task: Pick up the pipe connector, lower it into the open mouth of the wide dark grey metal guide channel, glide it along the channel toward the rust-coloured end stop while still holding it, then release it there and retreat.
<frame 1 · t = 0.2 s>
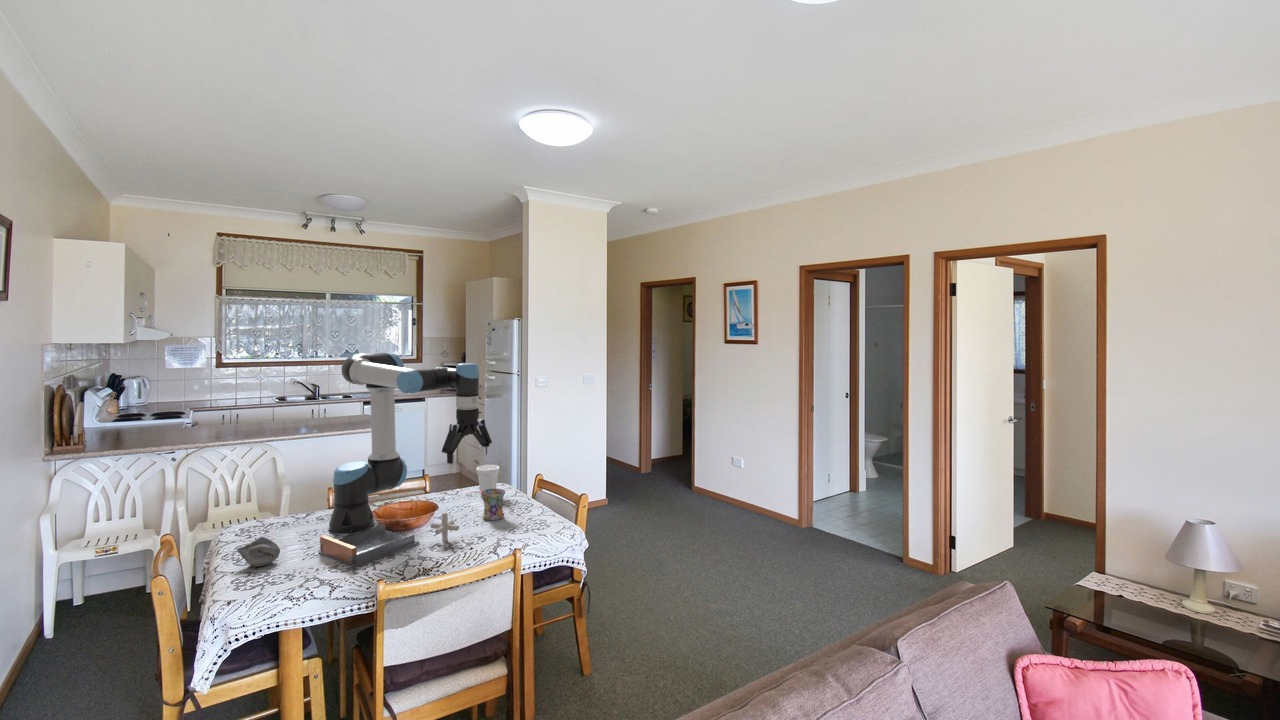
hand: (467, 468, 204), 27 cm above the table, fingers open, 13 cm apart
cup: (488, 497, 260), on the table
pipe connector: (444, 541, 208), on the table
fossil: (259, 564, 186), on the table
guide channel: (370, 548, 200), on the table
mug: (491, 517, 234), on the table
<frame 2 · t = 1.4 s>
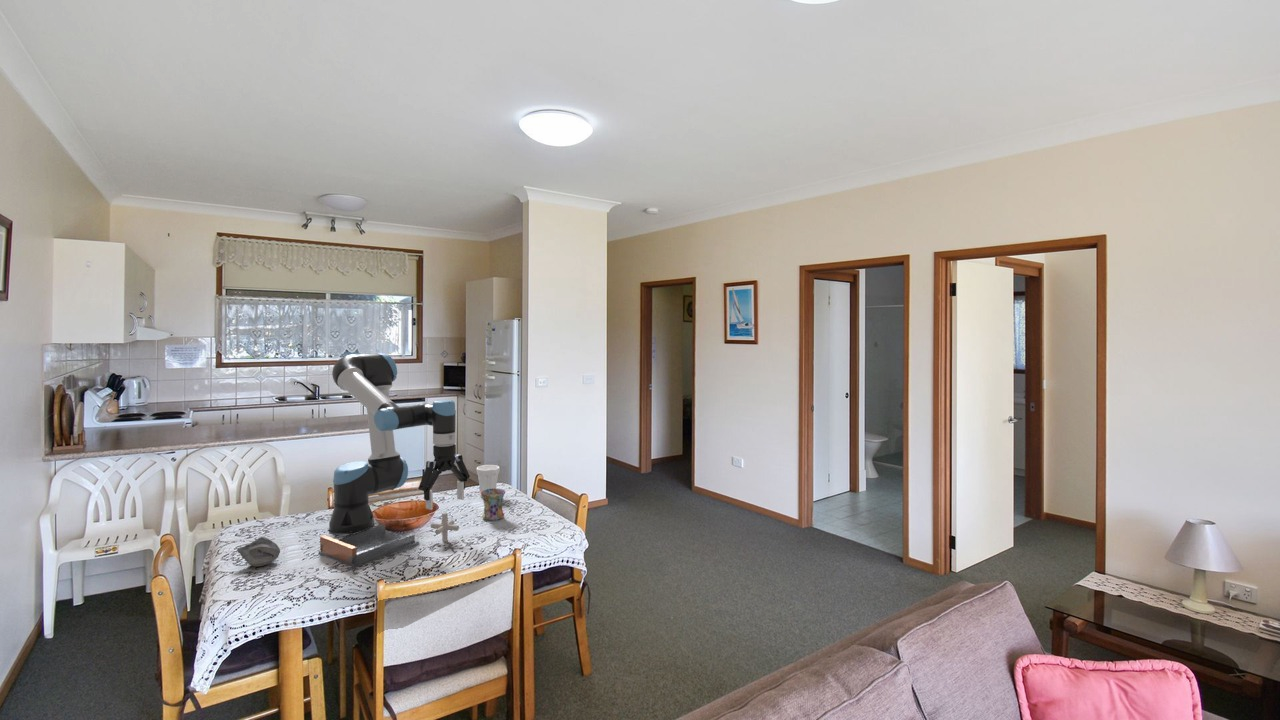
hand: (445, 504, 207), 13 cm above the table, fingers open, 13 cm apart
nothing on the table moved.
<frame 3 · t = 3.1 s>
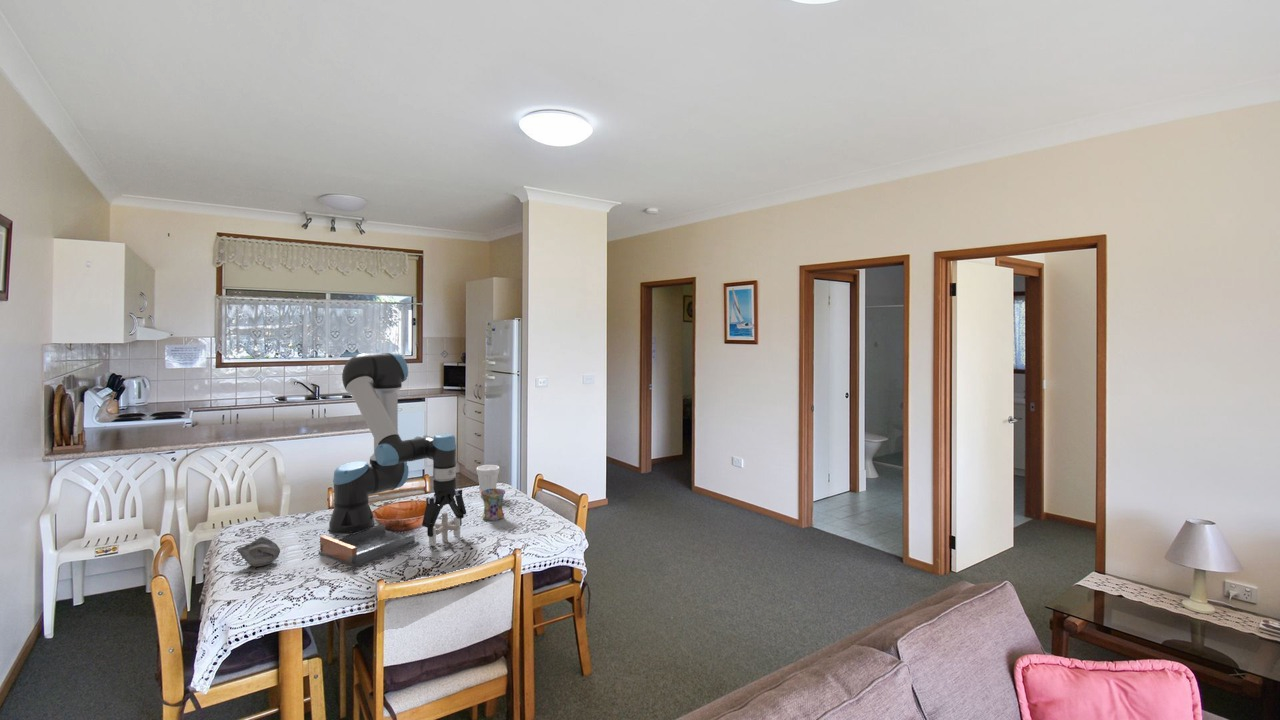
hand: (444, 540, 208), 0 cm above the table, fingers closed on pipe connector, 10 cm apart
pipe connector: (444, 541, 208), on the table, touching gripper
everything else where it was.
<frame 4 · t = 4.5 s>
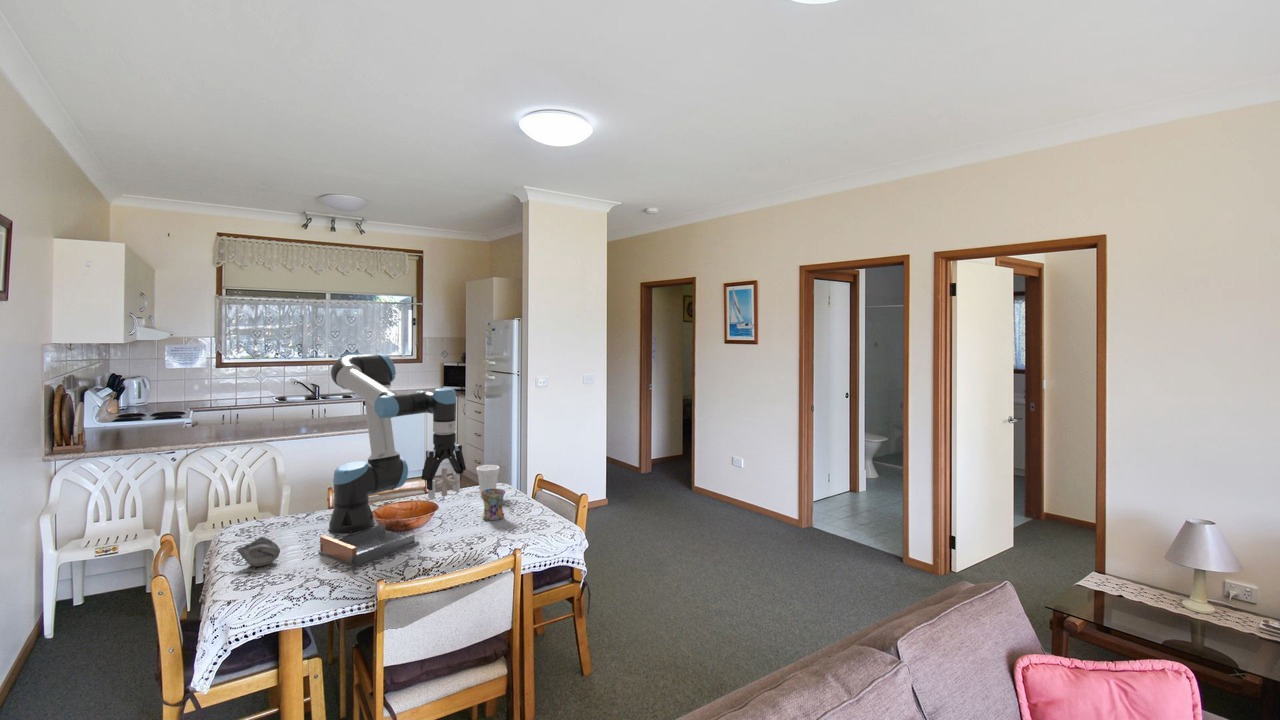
hand: (444, 494, 207), 17 cm above the table, fingers closed on pipe connector, 10 cm apart
pipe connector: (444, 496, 207), point 16 cm above the table, touching gripper
everything else where it was.
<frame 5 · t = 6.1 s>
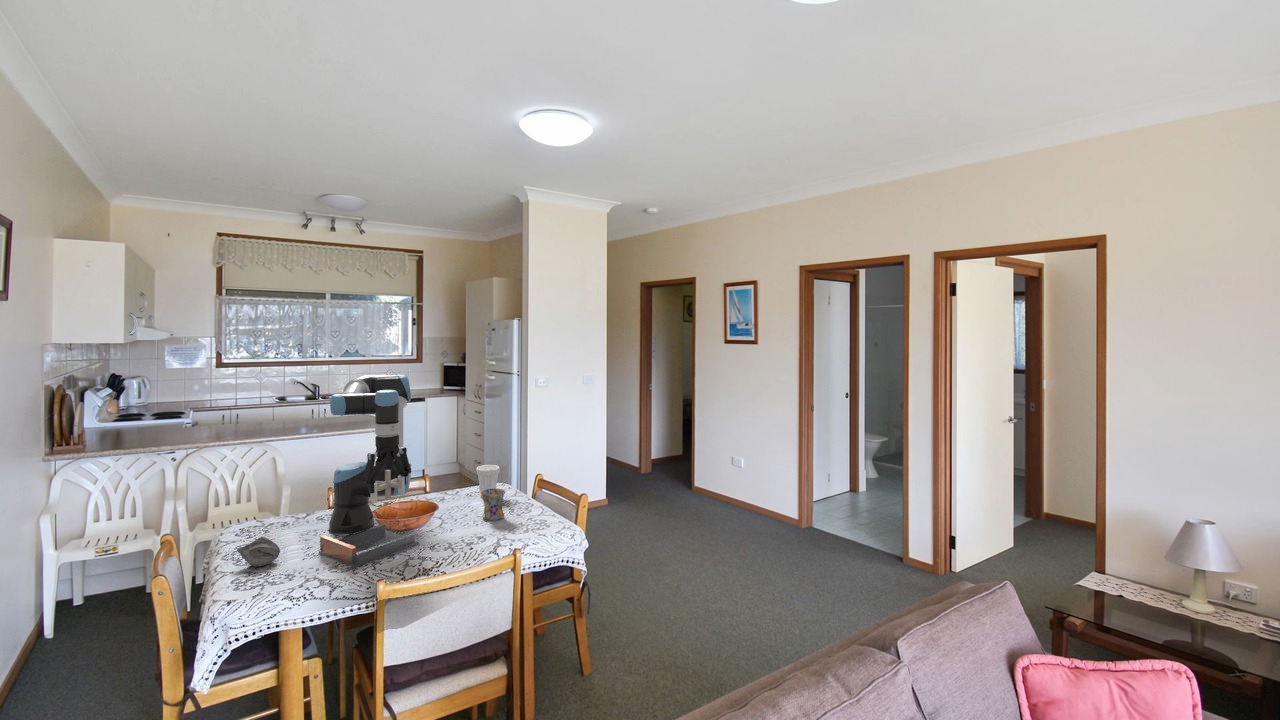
hand: (387, 498, 205), 16 cm above the table, fingers closed on pipe connector, 10 cm apart
pipe connector: (388, 499, 205), point 15 cm above the table, touching gripper
everything else where it was.
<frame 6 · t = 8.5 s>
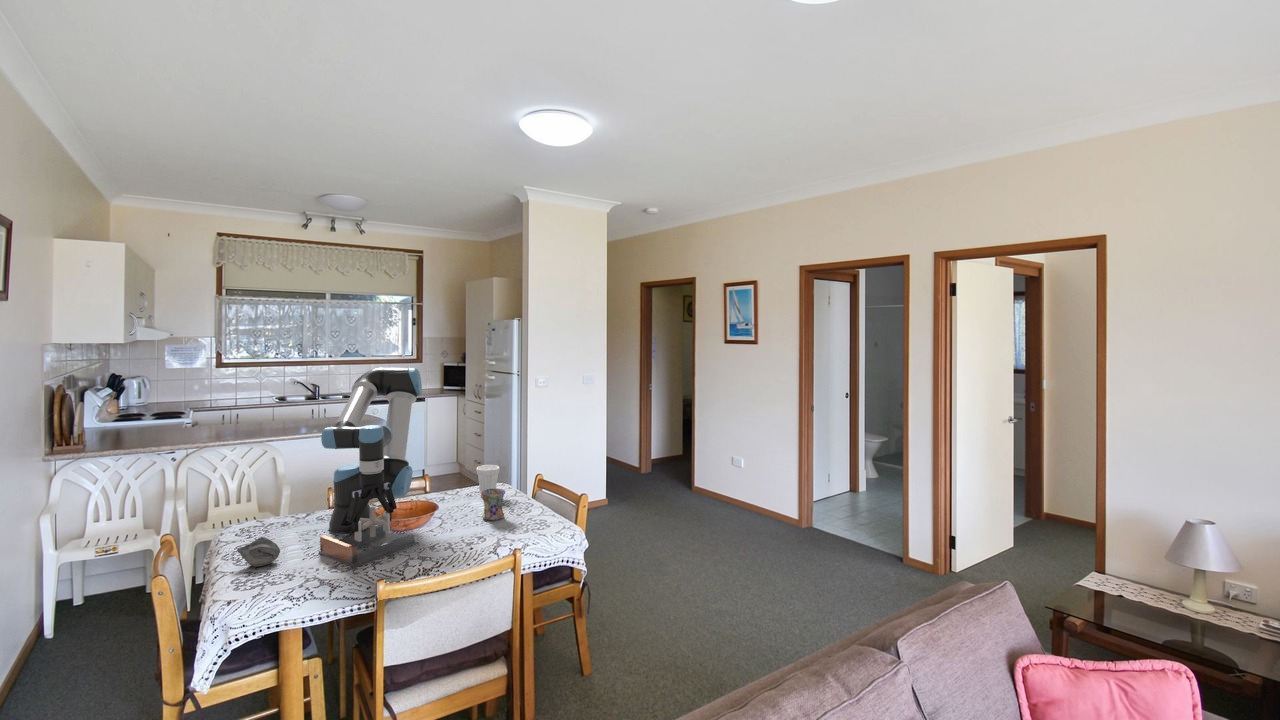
hand: (372, 535, 201), 4 cm above the table, fingers closed on pipe connector, 10 cm apart
pipe connector: (372, 536, 201), point 4 cm above the table, touching gripper
everything else where it was.
when the fingers open (3 cm above the table, at t = 9.6 s): pipe connector drops 2 cm, resting on guide channel.
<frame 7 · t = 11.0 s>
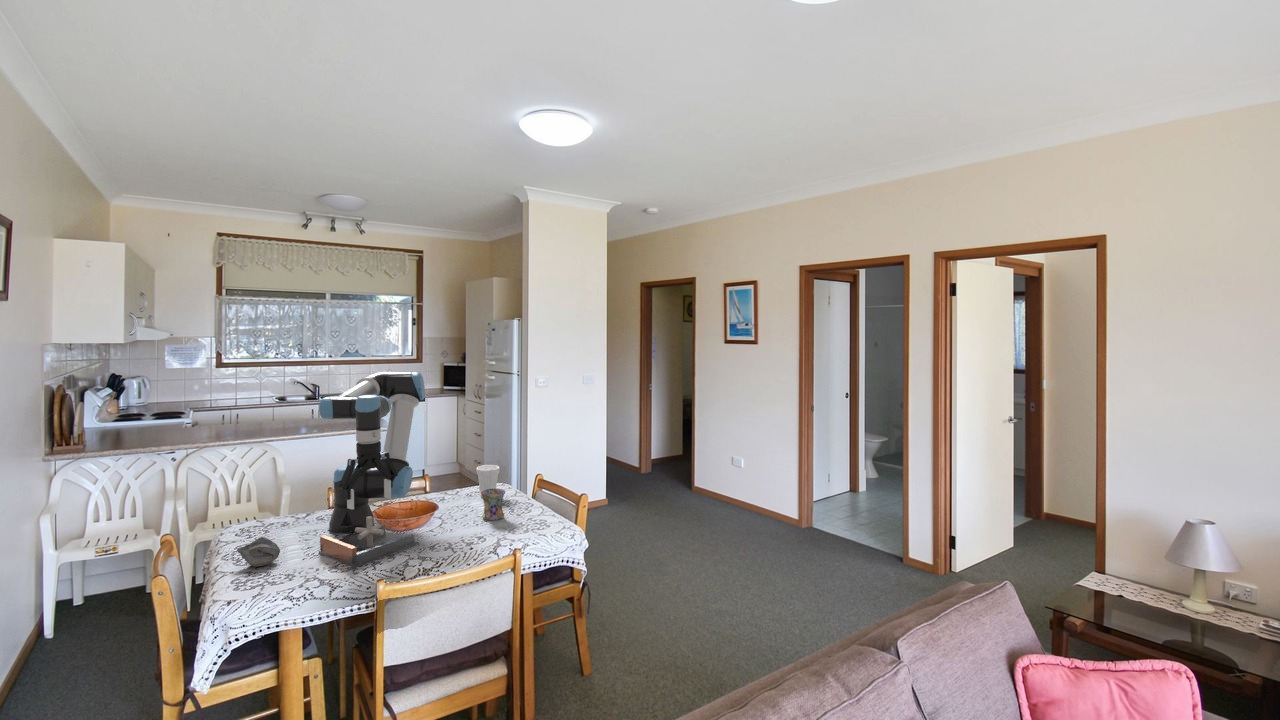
hand: (369, 503, 199), 16 cm above the table, fingers open, 13 cm apart
pipe connector: (370, 546, 200), point 1 cm above the table, touching guide channel
everything else where it was.
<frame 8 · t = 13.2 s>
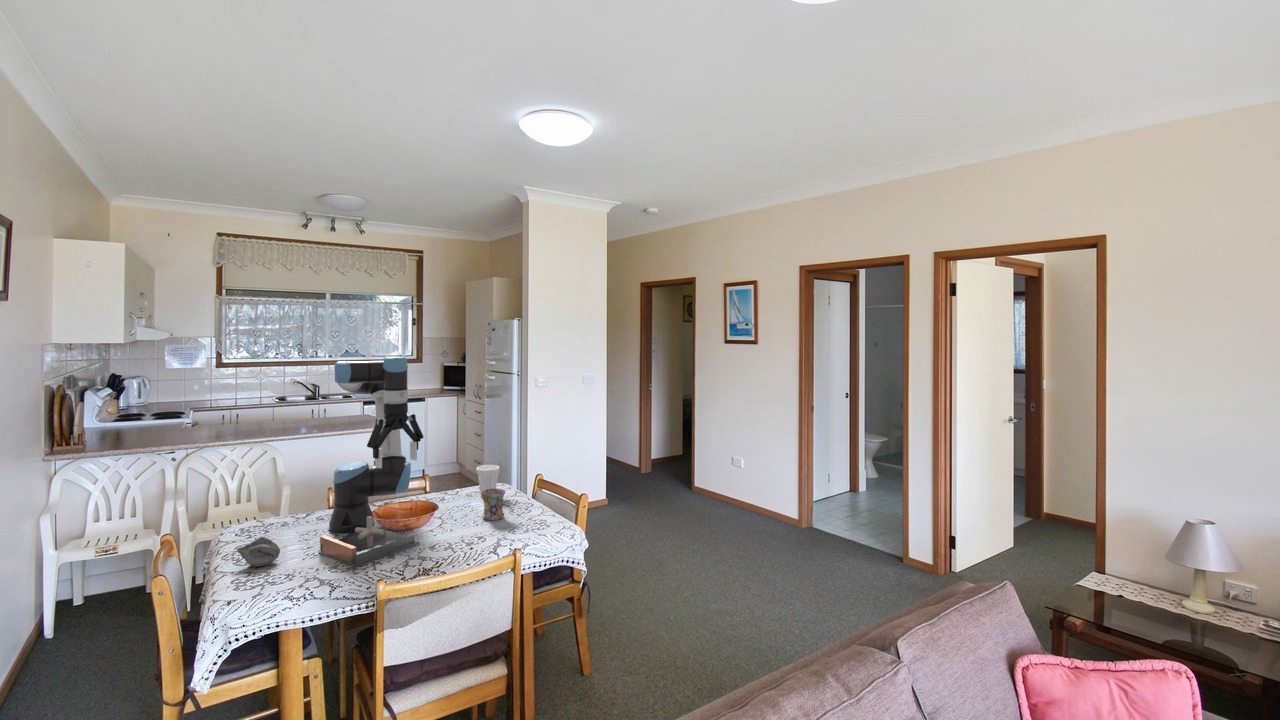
hand: (396, 463, 201), 29 cm above the table, fingers open, 13 cm apart
nothing on the table moved.
at the end: pipe connector inside the target area on the guide channel (2.0 cm from its centre), point 0.8 cm above the guide channel's base; pipe connector tilted 0°; the gripper is holding nothing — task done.
